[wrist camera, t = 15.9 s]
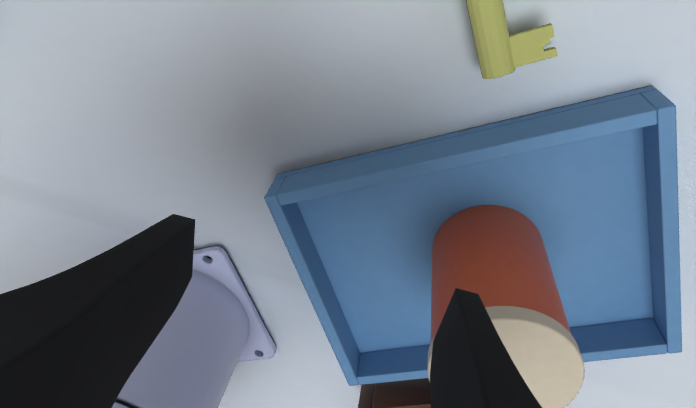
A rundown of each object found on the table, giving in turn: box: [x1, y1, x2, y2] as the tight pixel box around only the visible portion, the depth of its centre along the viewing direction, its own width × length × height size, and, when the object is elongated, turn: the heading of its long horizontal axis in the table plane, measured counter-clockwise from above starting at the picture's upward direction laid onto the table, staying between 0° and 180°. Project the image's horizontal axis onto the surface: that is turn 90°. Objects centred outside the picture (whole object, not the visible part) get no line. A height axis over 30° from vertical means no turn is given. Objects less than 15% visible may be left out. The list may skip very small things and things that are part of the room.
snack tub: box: [427, 205, 585, 408], centre depth 21 cm, size 5×5×8 cm
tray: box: [264, 86, 682, 386], centre depth 24 cm, size 16×12×2 cm
